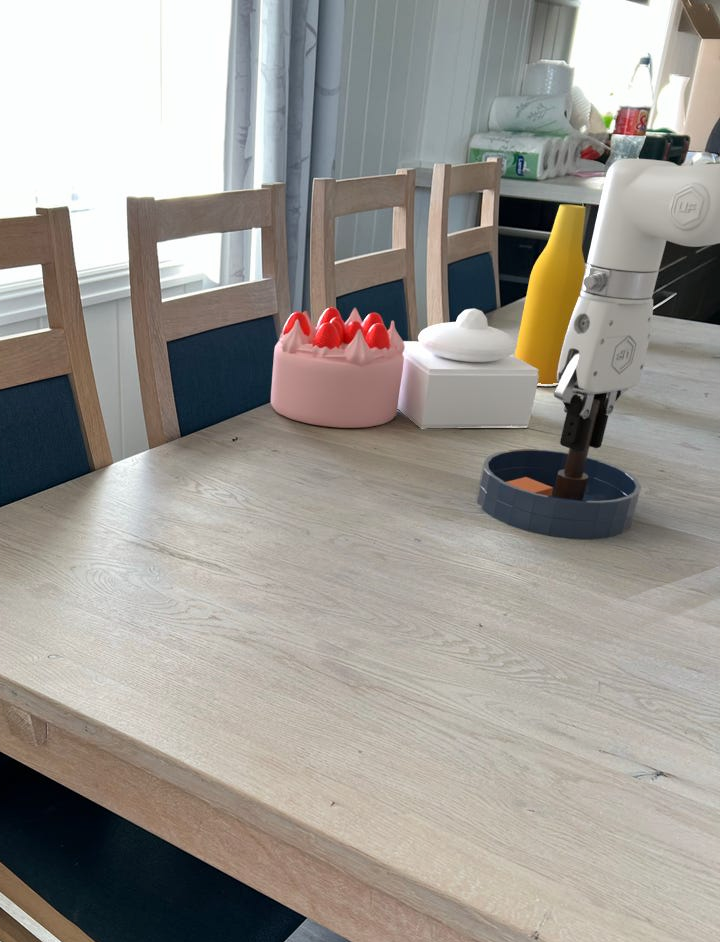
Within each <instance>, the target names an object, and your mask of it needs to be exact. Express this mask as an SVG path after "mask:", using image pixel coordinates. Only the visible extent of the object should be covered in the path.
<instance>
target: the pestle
mask: <svg viewBox="0 0 720 942" xmlns="http://www.w3.org/2000/svg"><path fill="white" fill-rule="evenodd" d="M581 399H582V401H583V398H582V397H581ZM599 405H600V401H598V400H596V399H593V402H592V406H591V410H590V414H589V416H588V417H589V418H592V420H591V425H590V429H589V433H588V438H587V442H586V446H585V449H584V451H581V452H578V451H575V450H573V449H570V448H568V451H567V452H568V456H567V461H566V465H565V469H563V470H559V471H558V473H557V477H556V482H555V486H554V491H553V497H556V498H562V499H571V500H579V501H582V500H583V497H584V493H585V489H586V485H587V481H588V475H587V474H585V473H583V472H584V467H585V463H586V459H587V457H588V454H589V450H590V443H591V438H592V434H593V430H594V426H595V422H596V418H597V414H598V409H599Z"/></svg>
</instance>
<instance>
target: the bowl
mask: <svg viewBox="0 0 720 942" xmlns="http://www.w3.org/2000/svg"><path fill="white" fill-rule="evenodd" d="M568 452H569V451H560V450H552V449H539V448H538V449H537V448H518V449H508V450H503V451H498V452H495V453H493V454H491V455H489V456H487V457H486V458H485V459H484V461H483V462H482V467H481V472H480V476H479V483H478V488H477V493H476V501H477V504H478V506H479V507H480V509H481V510H483V512H485V513H486V514H487V515H489V516H490V517H492V518H493V519H494V520H495V519H496V520H497V521H499V522H501V523H504V524H506V525H508V526H511V527H513V528H516V529H519V530H521V531H526V532H529V533H534V534H537V535H543V536H547V537H554V538H560V539H568V540H569V539H570V540H601V539H606V538H607V539H608V538H613V537H616V536H619V535H622V534H624V533H625V532H626V531H628V530H629V529H630V528H631V526H632V522H633V519H634V516H635V511H636V507H637V504H638V501H639V497H640V493H641V490H642V486H641V483H640V481H639V479H637V477H635V476H634V475H633V474H632V473H630V472H628V471H627V470H625V469H623V468H621V467H619V466H617V465H614V464H612V463H610V462H607V461H604V460H601V459H598V458H594V457H590V456H587V459H586V463H585V467H584V472H583V473H585V474H587V475H588V481H587V485H586V489H585V493H584V497H583V500H582V501H579V500H571V499H562V498H556V497H553V491H554V486H555V482H556V477H557V473H558V471H559V470H563V469H565V465H566V461H567V456H568ZM524 477H528V478H530V479H533V480H535V481H538V482H540V483H543V484H545V485H548V486H550V487H553V491H552V495H551V496H546V495H542V494H537V493H533V492H530V491H527V490H524V489H520V488H518V487H515V486H513V485H511V484H508V483H506V482H508V481H512V480H516V479H520V478H524Z"/></svg>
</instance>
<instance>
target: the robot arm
mask: <svg viewBox="0 0 720 942" xmlns="http://www.w3.org/2000/svg"><path fill="white" fill-rule="evenodd" d="M667 242H670V243H673V244H675V245H680V246H684V247H692V248H696V247H697V248H698V247H706V246H713V245H717V244H720V163H719V162H718V163H706V164H703V163H702V164H689V165H678V164H676V163H675V162H672V161H666V160H657V159H649V158H648V159H646V158H632V157H631V158H630V157H629V158H620V159H617V160H615V161H613V163H611V165H610V166H609V167H608V169H607V172H606V175H605V178H604V183H603V187H602V192H601V197H600V201H599V206H598V211H597V216H596V219H595V224H594V229H593V234H592V238H591V243H590V248H589V252H588V255H587V261H586V263H587V265H586V269H585V274H584V279H583V283H582V288H581V292H580V295H581V296H579V298H578V301H577V303H576V306H575V309H574V312H573V314H572V317H571V320H570V323H569V326H568V330H567V333H566V336H565V340H564V344H563V347H562V351H561V356H560V360H559V365H558V372H557V381H558V383H559V384H558V386H556V388H555V389H554V392H553V396H554V398H556V399H557V400H559V401H561V402H562V403H563V405H564V407H563V411H564V413H566V414H565V418H564V423H563V428H562V432H561V437H560V441H559V444H560V445H561V446H562V447H564V448H568V449H569V448H570V449H573V450H575V451H578V452H581V451H584V449H585V446H586V442H587V438H588V433H589V429H590V425H591V420H592V418H589V417H588V416H589V414H590V410H591V406H592V402H593V399H596V400H598V401H600V405H599V409H598V414H597V418H596V422H595V426H594V430H593V434H592V438H591V443H590V447H591V448H593V449H599V448H601V447H602V443H603V439H604V435H605V432H606V428H607V423H608V420H609V415H611V414H612V413H613V411H614V408H615V404H616V402H617V401H618V399H619V398H620V397H621V395H623V394H624V393H625V392H627V391H628V390H629V389H631V388H633V387H636V386H637V385H638V384H639V383H640V381H641V378H642V375H643V371H644V366H645V361H646V358H647V353H648V348H649V343H650V337H651V331H652V324H653V315H654V298H653V296H654V295H653V294H654V291H655V287H656V283H657V279H658V275H659V272H660V267H661V263H662V260H663V255H664V252H665V248H666V243H667ZM580 395H581V396H583V401H582V397H581V396H580ZM590 447H589V448H590Z"/></svg>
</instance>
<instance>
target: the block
mask: <svg viewBox="0 0 720 942" xmlns="http://www.w3.org/2000/svg"><path fill="white" fill-rule="evenodd" d="M506 483H508V484H511V485H513V486H515V487H518V488H520V489H524V490H527V491H530V492H533V493H537V494H542V495H546V496H551V495H552V491H553V487H550V486H548V485H545V484H543V483H540V482H538V481H535V480H533V479H530V478H528V477H524V478H520V479H516V480H512V481H508V482H506Z"/></svg>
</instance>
